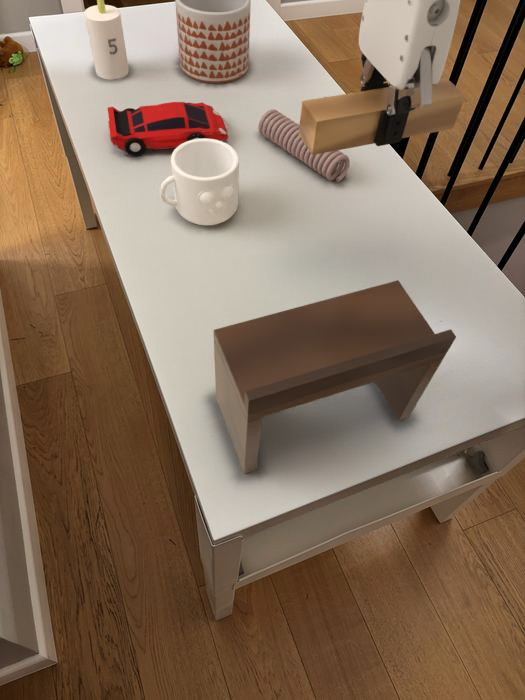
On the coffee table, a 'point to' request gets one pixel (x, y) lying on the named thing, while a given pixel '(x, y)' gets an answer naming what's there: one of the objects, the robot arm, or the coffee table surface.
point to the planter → (213, 38)
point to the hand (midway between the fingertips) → (377, 129)
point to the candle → (106, 41)
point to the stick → (372, 117)
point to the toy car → (164, 126)
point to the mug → (204, 181)
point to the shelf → (323, 359)
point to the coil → (301, 145)
